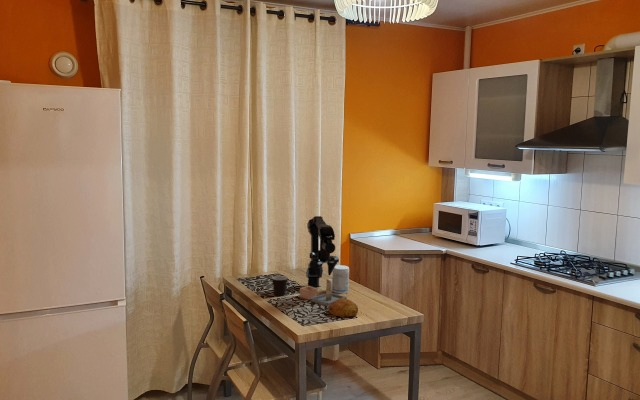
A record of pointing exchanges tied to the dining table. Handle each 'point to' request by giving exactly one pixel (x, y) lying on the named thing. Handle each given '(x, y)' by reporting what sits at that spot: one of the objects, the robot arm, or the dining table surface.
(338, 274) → the supplement tub
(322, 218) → the robot arm
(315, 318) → the dining table surface
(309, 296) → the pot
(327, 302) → the tray
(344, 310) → the croissant
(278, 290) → the coffee mug
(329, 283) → the dowel
